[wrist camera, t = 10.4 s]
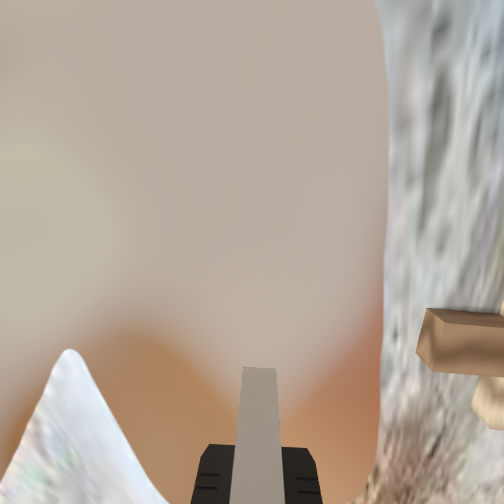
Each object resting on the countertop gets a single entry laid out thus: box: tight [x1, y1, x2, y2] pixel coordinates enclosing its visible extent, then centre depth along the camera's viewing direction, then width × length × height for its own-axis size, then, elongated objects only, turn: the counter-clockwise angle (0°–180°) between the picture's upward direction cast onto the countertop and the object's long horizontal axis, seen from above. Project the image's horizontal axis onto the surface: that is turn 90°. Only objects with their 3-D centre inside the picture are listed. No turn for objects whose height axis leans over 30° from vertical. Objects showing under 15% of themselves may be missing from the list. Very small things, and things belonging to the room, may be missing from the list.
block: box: [415, 308, 504, 378], centre depth 40 cm, size 7×10×4 cm
